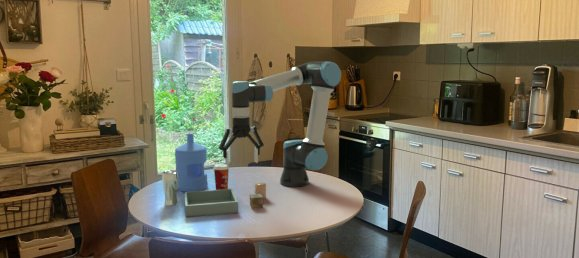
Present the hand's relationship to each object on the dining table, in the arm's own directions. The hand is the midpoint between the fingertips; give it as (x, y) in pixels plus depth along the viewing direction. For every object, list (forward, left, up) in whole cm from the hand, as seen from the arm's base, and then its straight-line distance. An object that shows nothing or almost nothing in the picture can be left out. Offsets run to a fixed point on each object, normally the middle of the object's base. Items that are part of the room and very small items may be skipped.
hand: (241, 163), depth 200 cm
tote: (+14, +1, -19) cm, 24 cm away
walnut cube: (-6, +4, -19) cm, 20 cm away
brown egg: (-10, -7, -19) cm, 22 cm away
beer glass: (+31, -9, -19) cm, 38 cm away
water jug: (+21, -32, -19) cm, 43 cm away
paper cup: (+7, -20, -19) cm, 28 cm away
